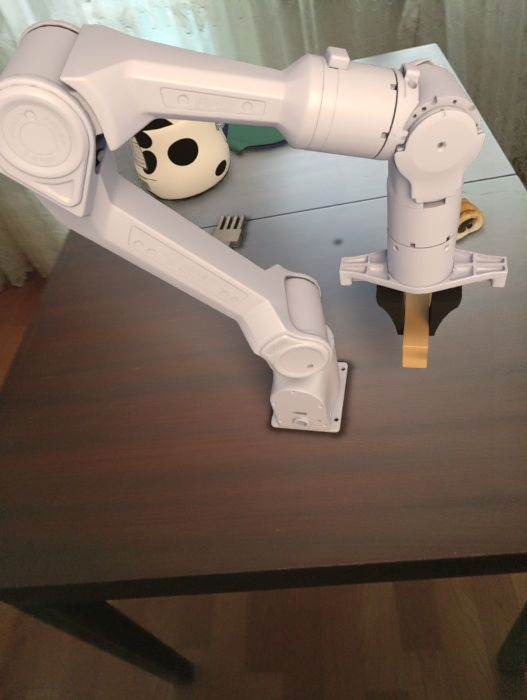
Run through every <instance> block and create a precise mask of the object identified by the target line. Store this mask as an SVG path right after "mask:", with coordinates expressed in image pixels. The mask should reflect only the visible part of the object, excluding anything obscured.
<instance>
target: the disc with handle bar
mask: <svg viewBox="0 0 527 700" xmlns="http://www.w3.org/2000/svg"><path fill="white" fill-rule="evenodd" d="M431 297H432V293H427V294H412V293H407V292H404V302H405V318H404V333H403V335H402V352H401V353H402V357H401V360H402V361H401V367H402V368H411V369H412V368H413V369H416V368H417V369H427V366H428V365H427V364H428V353H429V337H430V336H429V307H430V302H431Z"/></svg>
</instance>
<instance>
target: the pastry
mask: <svg viewBox="0 0 527 700" xmlns="http://www.w3.org/2000/svg"><path fill="white" fill-rule="evenodd" d="M484 221H485V216H484V215H483V212H482V211H481V210H479V207H477V206H476V205H475V204H473V203H472V202H470V201H469V199H468V198H465V197H462V201H461V209H460V217H459V224H458V231H457V238H456V241H459V240H460V239H462V238H464V237H465V236H467V235H468V234H470V233H473V232H475V231H478V230H479V229H481V227H482V226H483V225H484Z"/></svg>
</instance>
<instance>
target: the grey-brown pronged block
mask: <svg viewBox="0 0 527 700" xmlns="http://www.w3.org/2000/svg"><path fill="white" fill-rule="evenodd" d="M246 223H247V217H246V214H241V215H240V216H239V215H238V214H234V216H232V214H228V215H227V218H226V215H221V216H220V218H219V221H218V223H217V226H216V228H215V229H214V230H213V232H212V235H211V236H213V237H214V238H216V239H217V240H219V241H220V242H222V243H223V244H225V245H227V246H228V247H230V248H231V249H233V248H240V246H241V244H242V240H243V237H244V229H245V226H246Z"/></svg>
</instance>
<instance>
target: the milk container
mask: <svg viewBox="0 0 527 700" xmlns="http://www.w3.org/2000/svg"><path fill="white" fill-rule="evenodd" d="M127 142H128V143H129V146H130V148H131V152H132V155H133V156H132V157H133V161H134V162H133V163H134V168H135V171H136V174H137V176H138V179H139V181H140V182H141V183H142V185H143V187H145V189H146V190H147V191H148V192H149V194H151V195H152V196H153V197H156V198H157V199H161V200H165V201H185V200H189V199H191V198H192V199H193V198H195V197H199V196H202V195H203V194H204V193H206V192H208V191H211V190H212V189H214V188H215V187H216V186H217V185H218V184H219V183H220V182H222V181H223V179H224V178H225V177H226V176H227V173H228V172H229V169H230V164H231V154H230V148H229V146H228V143H227V140H226V137H225V135H224V133H223V129H222V128H221V127H220V125H219V123H214V122H201V121H189V120H176V119H163V118H158V119H155V120H153V121H151V122H150V123H149V124H148V125H146V126H145V127H144V128H143V129H141V130H140V131H139V132H138V133H136V134H135V135H134V136H133V137H132V138H130V139H129V140H128V141H127Z"/></svg>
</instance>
